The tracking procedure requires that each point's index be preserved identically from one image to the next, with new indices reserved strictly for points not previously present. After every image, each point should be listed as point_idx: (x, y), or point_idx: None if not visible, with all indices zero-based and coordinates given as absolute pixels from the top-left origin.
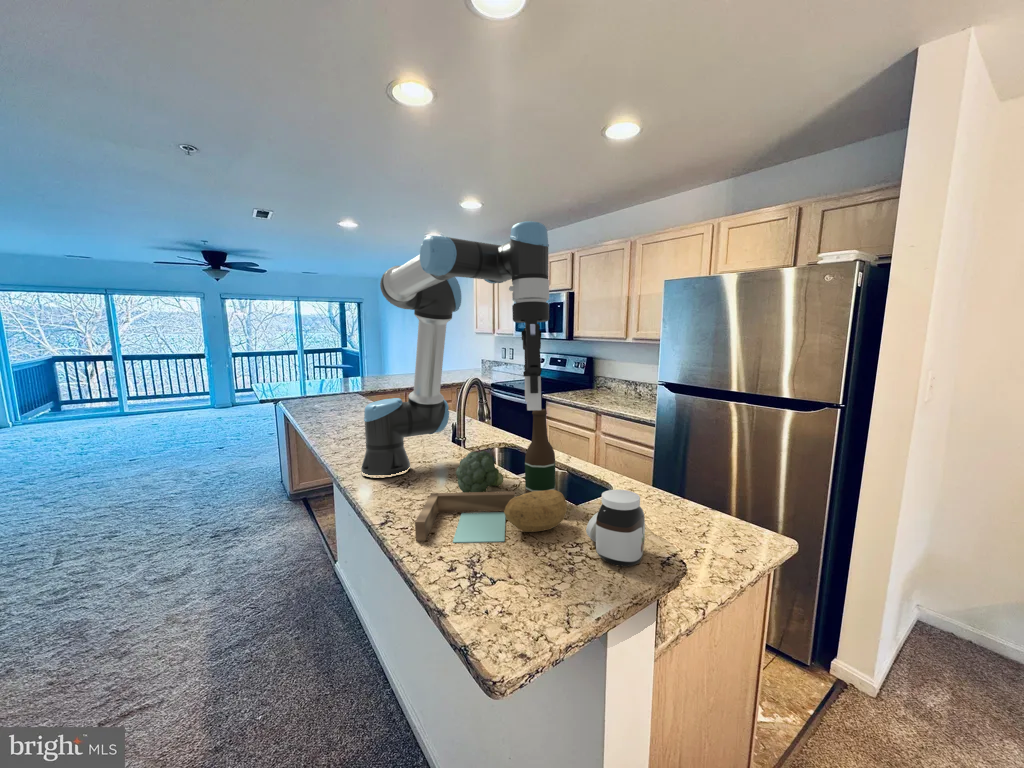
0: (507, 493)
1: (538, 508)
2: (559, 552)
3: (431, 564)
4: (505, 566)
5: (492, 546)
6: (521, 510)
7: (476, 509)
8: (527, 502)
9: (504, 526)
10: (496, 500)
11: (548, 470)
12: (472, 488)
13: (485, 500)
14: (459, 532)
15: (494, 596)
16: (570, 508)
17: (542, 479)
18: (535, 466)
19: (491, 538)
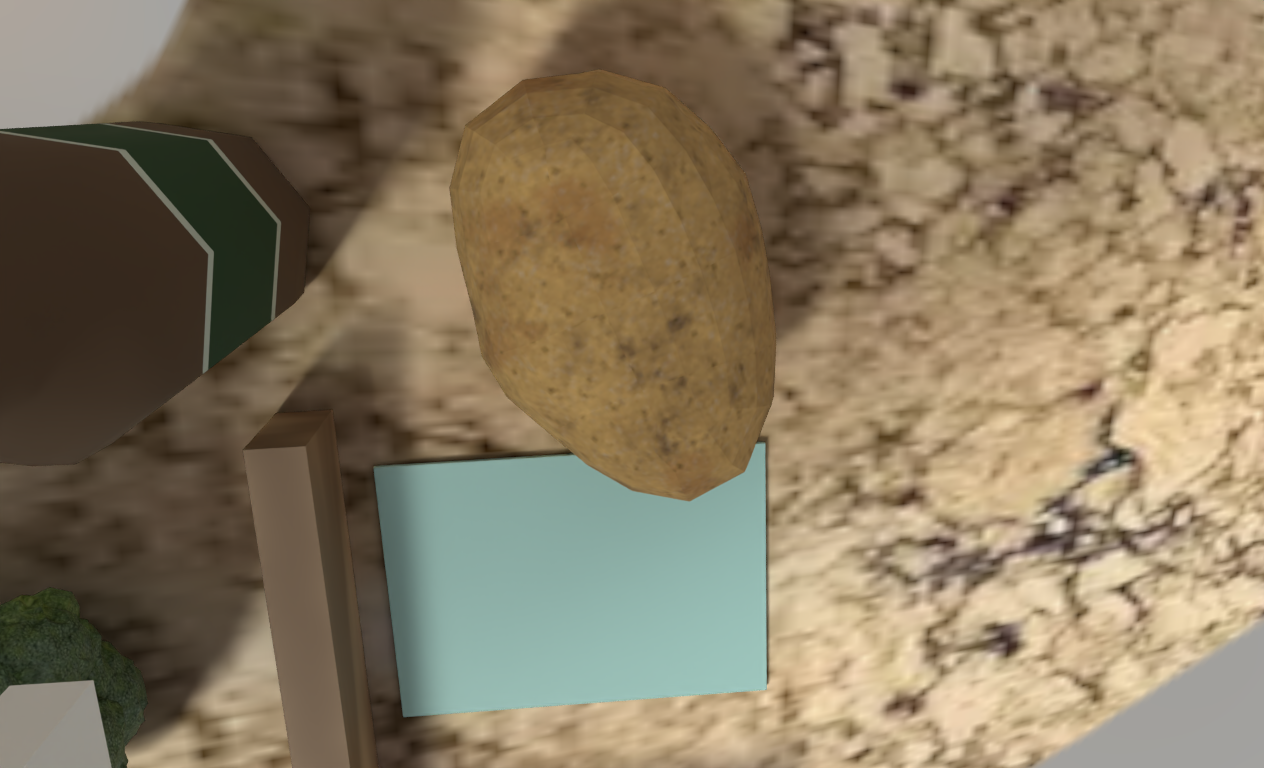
0: (290, 497)
1: (750, 288)
2: (891, 147)
3: (954, 728)
4: (1001, 418)
5: (808, 496)
6: (767, 398)
7: (360, 644)
8: (727, 369)
9: None
10: (332, 551)
11: (192, 207)
12: (131, 736)
13: (341, 620)
14: (662, 678)
15: (1217, 443)
16: (260, 13)
17: (248, 255)
18: (209, 340)
19: (735, 512)
